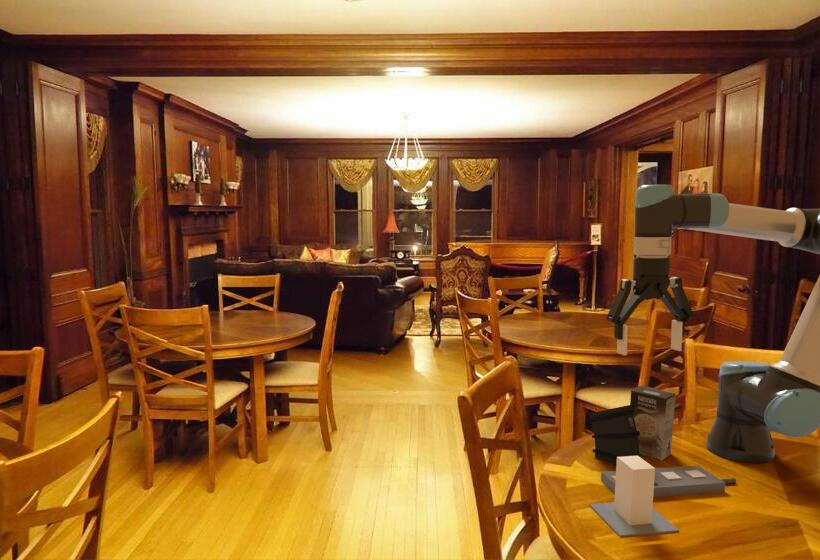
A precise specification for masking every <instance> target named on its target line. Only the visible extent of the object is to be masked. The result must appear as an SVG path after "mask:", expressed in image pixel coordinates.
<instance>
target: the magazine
mask: <svg viewBox="0 0 820 560" xmlns="http://www.w3.org/2000/svg"><path fill="white" fill-rule="evenodd" d="M633 413H635V411H634V409H632V410H631V407H630V404H627V405H623V406H622V405H621V406H618V407H614V408H613V407H612V408H609V409H604V410H600V411H596V412H590V413H588V416H589V418H587V421H588V423H591V426H592V430H593V435H591V439H594V448H593V449H592V453H594V457H595V458H597V459H599V460H602V461H603V462H606V463H609V464H610V465H613V466H615V467H616V463H617V457H624V456H639V457H640V458H642V459H643V455H641V456H640V454H639V442H638V436H640V431H637V429H636V424H635V420H634V416H633Z"/></svg>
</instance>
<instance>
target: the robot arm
mask: <svg viewBox="0 0 820 560" xmlns="http://www.w3.org/2000/svg"><path fill="white" fill-rule="evenodd" d="M635 193H636V194H635V198H634V199H635V200H634V201H635V202H634V206H633V207H634V237H633V238H634V239H633V254H634V255H635V257H634V258H633V274H634V278H633V279H627V278H622V279H621V280H620V281H619V283H620V284H619V289H618V291H617V294H616V295H615V297H614V300H613V302H612V305H611V307H610V309H609V311H608V312H607V315H606V317H605V320H606V321H607V322H609V323H612V324H614V329H613V331H614V334H613V335H614V338H615V340H616V341H617V342H616V353H617V354H619V355H622V356H627V355H628V330H629V328H628V327H629V326H628V325H627V324H626V322H627V320H629V318H630V317H631V316H632V314H633V313H634V311H635V310H636V309H637V308H638V306H639V305H640V304H641V303H642V302H644V301H645V300H652V299H656V300H661V302H662V303H663V305H664V306H665V307H666V308H667V310H668V311H669V312H670V314H671V315H672V316H673V317H674V319H672V320H671V330H670V331H671V332H670V333H671V335H670V349H672V350H675V351H676V352H677V351H678V352H682V348H683V347H682V345H683V336H684V335H685V330H686V323H688V322H689V321H690V319H693V318H694V315H695V313H694V311H693V309H692V307H691V304H690V302H689V300H688V297H687V295H686V292H685V290H684V288H683V279H682V277H679V276H671V277H669V275H670V273H671V265H672V264H671V263H672V259H671V257H668V256H670V255H671V253H672V234H673V233H672V231H673V229H675V230H676V229H682V230H688V231H689V230H691V231H698V232H706V233H713V234H719V235H720V234H721V235H728V236H734V237H735V236H736V237H741V238H748V239H750V238H751V239H757V240H763V241H772V242H777V243H778V244H779V245H780V246H782V247H784V248H785V247H786V248H792V249H798V250H801V251H806V252H809V253H813V254H817V255H820V208H800V207H799V208H798V207H790V208H787V209H786V210H783V209H782V210H781V209H775V208H767V207H761V206H753V205H745V204H738V203H730V202H729V201H728V199H727V197H726V195H724V194H722V193H711V192H703V193H702V192H701V193H675V192H674V187H673V185H671V184H643V185H640V186H638V187H637V189H636V191H635ZM669 287H670V289H671V291H672V294H673V296H674V299H675V300H674V299H673V297H672V294H671V293H670V291H669V290H668V288H669ZM633 289H634V290H633ZM632 290H633V292H632V293H631V291H632ZM629 296H630V297H629ZM628 298H629V299H628ZM627 300H628V301H627ZM719 367H720V368H719V373H718V385H717V388H718V389H717V404H716V413H715V414H716V416H715V419H714V422H713V424H712V427H711V429H710V431H709V433H708V435H707V437H706V448H707V449H708V450H709V451H710V452H712V453H714V454H715V455H717V456H719V457H722V458H725V459H729V460H734V461H738V462H742V463H743V462H744V463H752V464H764V463H768V462H771V461H773V460H774V459H775V451H776V449H775V445H774V442H773V438H772V434H771V431H774V432H776V433H778V434H781V435H783V436H785V437H789V438H802V437H805V436H806V435H811V434H813V433H814V432H817V430H819V428H820V275H819V276H818V278H817V281H816V282H815V285H814V286H813V289H812V291H811V293H810V295H809V297H808V300H807V301H806V304H805V306H804V308H803V310H802V313H801V314H800V317H799V318H798V321H797V323H796V325H795V328H794V330H793V331H792V334H791V336H790V338H789V340H788V342H787V345H786V346H785V349H784V351H783V353H782V355H781V357H780V358H779V360H778V361H777V362H776V361H775V362H773V363H771V364H769V363H765V362H757V361H746V360H745V361H741V360H735V361H734V360H733V361H732V360H730V361H724V362H723V363H721V365H720V366H719Z"/></svg>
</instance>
